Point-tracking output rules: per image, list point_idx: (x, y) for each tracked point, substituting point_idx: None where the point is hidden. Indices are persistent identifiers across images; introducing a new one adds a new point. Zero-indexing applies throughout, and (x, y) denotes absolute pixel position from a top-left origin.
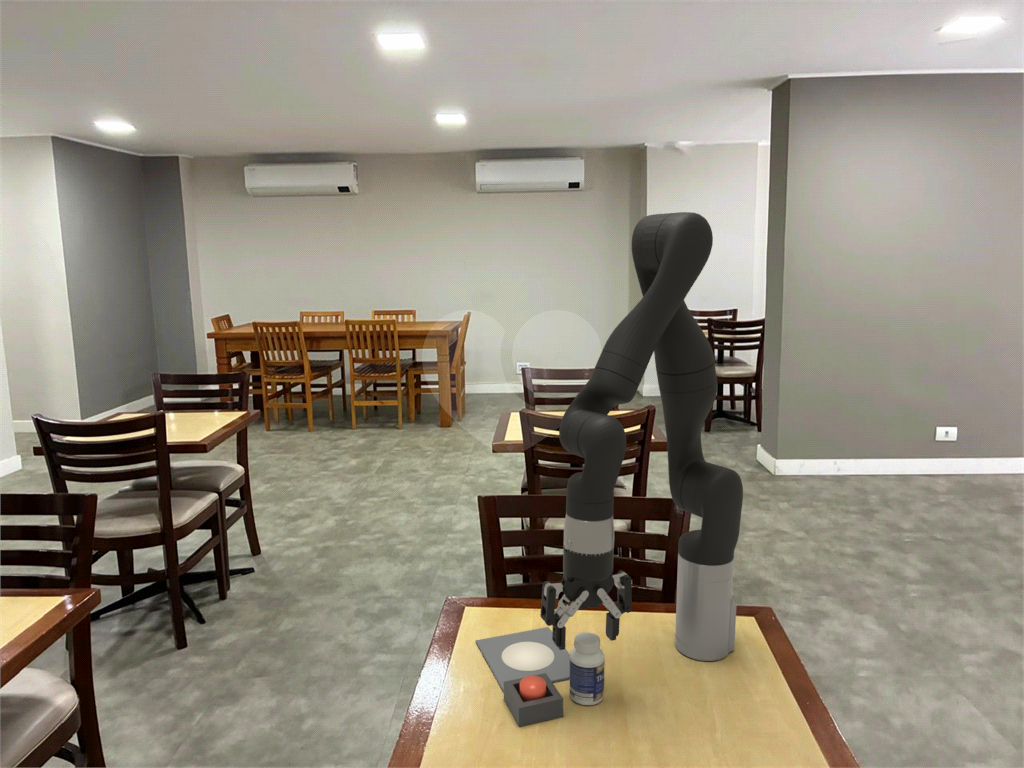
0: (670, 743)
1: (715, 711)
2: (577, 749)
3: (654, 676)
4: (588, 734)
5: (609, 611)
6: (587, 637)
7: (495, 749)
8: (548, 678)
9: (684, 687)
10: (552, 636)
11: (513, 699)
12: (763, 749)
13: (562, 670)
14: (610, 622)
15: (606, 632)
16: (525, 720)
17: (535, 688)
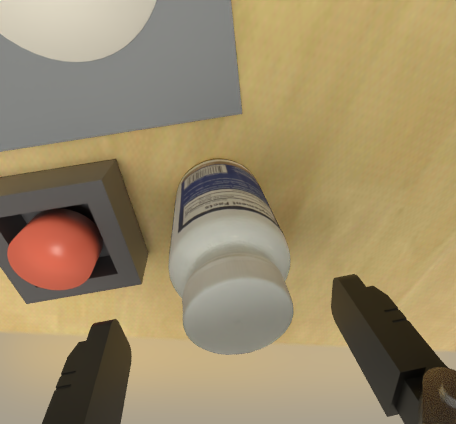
0: (311, 321)
1: (431, 269)
2: (160, 322)
3: (412, 149)
4: None
5: (416, 410)
6: (243, 313)
7: (5, 314)
8: (109, 207)
9: (440, 199)
10: (62, 373)
11: (6, 274)
12: (422, 336)
13: (177, 80)
14: (373, 371)
15: (340, 290)
16: None
17: (60, 281)
